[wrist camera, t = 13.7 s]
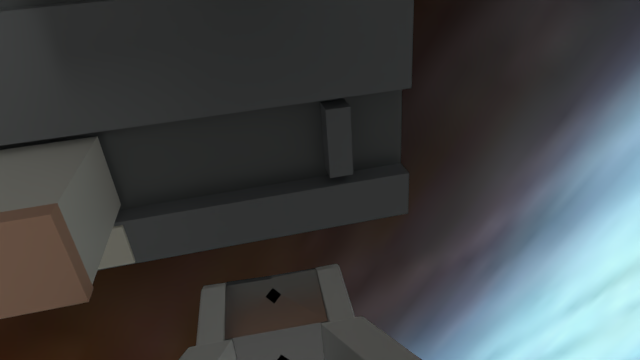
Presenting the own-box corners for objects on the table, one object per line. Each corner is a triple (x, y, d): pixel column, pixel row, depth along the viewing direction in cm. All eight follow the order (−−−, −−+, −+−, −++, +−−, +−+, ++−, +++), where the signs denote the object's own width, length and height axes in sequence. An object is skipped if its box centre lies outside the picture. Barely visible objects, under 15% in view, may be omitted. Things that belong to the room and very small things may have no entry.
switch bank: (390, -230, 15) (423, -262, 12) (389, 187, 22) (409, 215, 20) (-327, -209, 12) (-458, -246, 9) (-44, 262, 20) (-78, 305, 17)
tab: (98, 134, 16) (50, 214, 12) (122, 205, 18) (88, 301, 13) (-22, 151, 16) (-126, 243, 11) (13, 223, 17) (-64, 331, 13)
